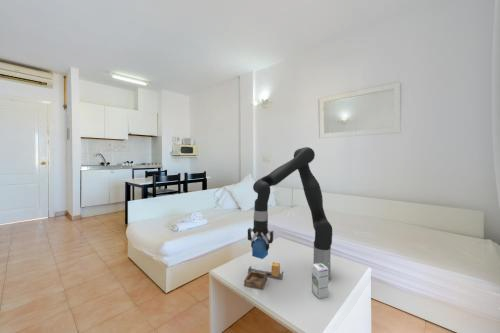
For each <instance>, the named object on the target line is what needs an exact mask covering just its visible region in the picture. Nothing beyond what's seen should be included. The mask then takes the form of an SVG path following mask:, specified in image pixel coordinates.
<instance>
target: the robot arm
mask: <svg viewBox="0 0 500 333" xmlns="http://www.w3.org/2000/svg"><path fill="white" fill-rule="evenodd" d="M315 156H316V154H315V151H314V149H313V148H311V147H307V146H306V147H301V148H297V149H296V150H295V151H294V152H293V158H292V159H290V160H289V161H287V162H285V163H283V164H281V165H280V166H278V167H277V168H275V169H274V170H272V171H271V172H270V173H269V174H267V175H265V176H263V177H261V178H259V179H257V180H256V181H255V182H254V183H253V186H252V188H253V191H254V192H255V193H256V194H257V197H256V199H255V200H254V210H253V227H252V228H251V227H249V228H247V240H248V241H250V242H251V243H250V245H251V246H250V247H251V248H252V245H253V243H254V241H255V240H256V239H257V238H258V236H259V235H258V234H261V237H262V238H263V239H264V240H265V242H266V251H267V250H268V251H269V249H270V244H272V243H273V242H274V234H275V233H274V232H275V231H274V230H269V229H268V228H269V227H268V226H269V222H268V221H269V212H268V210H269V208H268V207H269V206H268V205H269V199H270V194H271V187H272V186H277V185H278V184H280V183H281V182H282V181H283V180H285V179H286V178H287V177H289V176H290V175H292V174H293V173H294V172H296V171H298V175H299V177H300V180H301V181H300V182H301V183H302V184H301V185H302V187H303V191H304V192H303V193H304V195H305V196H304V197H305V198H306V203H307V205H308V207H309V209H310V210H309V211H310V214H311V220H312V226H313V229H314V240H313V262H312V263H313V264H316V263H322V264H323V265H325V266H326V267H327V268H328V281H331V272H332V271H331V270H332V269H331V268H332V266H331V264H332V263H331V256H332V254H331V252H332V251H331V250H332V249H331V247H332V243H333V226H332V224H331V223H330V222H329V221H328V219H327V216H326V213H325V210H324V206H323V203H324V200H323V193H322V189H321V186H320V183H319V181H318V180H317V178H316V177H315V176H314V174H313V173H312V171H311V168H310V165H309V164H310V163H312V162H313V161H314V160H315ZM252 232H253V233H254V235H253V236H252ZM268 236H269V237H268Z"/></svg>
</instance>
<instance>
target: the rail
mask: <svg viewBox="0 0 500 333" xmlns="http://www.w3.org/2000/svg"><path fill="white" fill-rule="evenodd" d="M250 271H254V272H260V273H265V274H266V270H262V269H261V270H260V269H256V268H252V266H251V265H250V266H249V267H248V269H247V275H248V274H249V272H250ZM267 278H270V279H273V280H275V279H276V280H279V281H280V280H281V281H283V278H284V271H281V272H280V274H279V277H275V276H271V274H267Z"/></svg>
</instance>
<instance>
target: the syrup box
mask: <svg viewBox="0 0 500 333" xmlns="http://www.w3.org/2000/svg"><path fill="white" fill-rule="evenodd" d="M311 267H312V269H311V270H312V272H311V276H312V277H311V278H312V279H311V292H312V293H313V294H314V296H316V297H317V299H323V298H324V299H325V298H328V297H329V280H328V268H327V267H326V266H325V265H323V264H322V263H316V264H311Z"/></svg>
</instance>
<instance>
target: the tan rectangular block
mask: <svg viewBox="0 0 500 333" xmlns="http://www.w3.org/2000/svg"><path fill="white" fill-rule="evenodd" d="M270 270H271V271H266V270H265V271H266V274H271V276H275V277H279V274H281V272H280V271H281V264H280V262H275V261H273V262H272V264H271V269H270Z"/></svg>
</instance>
